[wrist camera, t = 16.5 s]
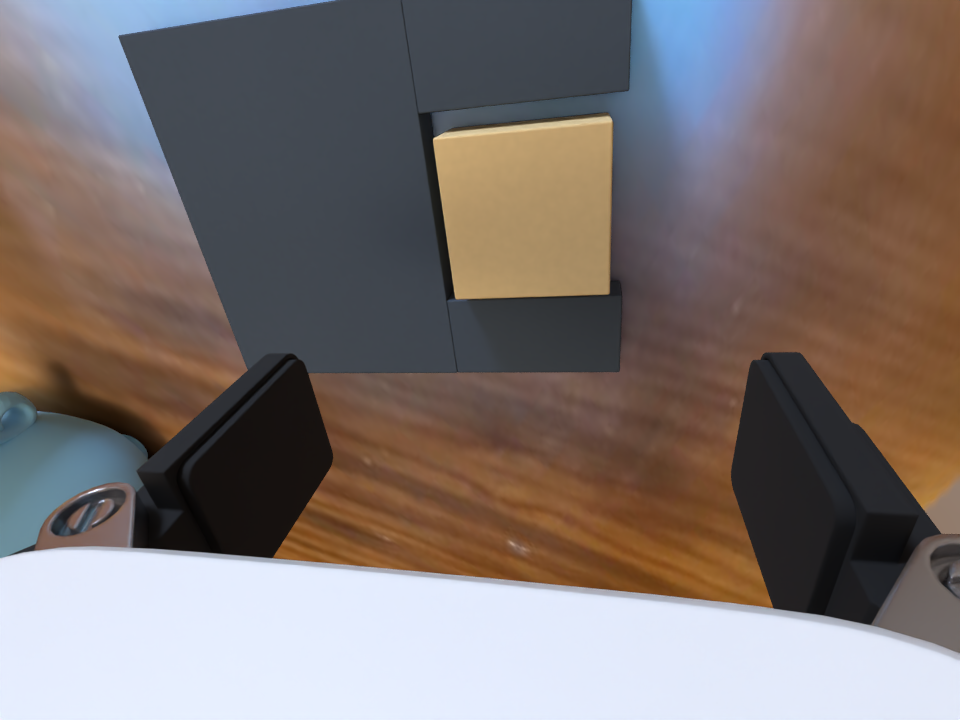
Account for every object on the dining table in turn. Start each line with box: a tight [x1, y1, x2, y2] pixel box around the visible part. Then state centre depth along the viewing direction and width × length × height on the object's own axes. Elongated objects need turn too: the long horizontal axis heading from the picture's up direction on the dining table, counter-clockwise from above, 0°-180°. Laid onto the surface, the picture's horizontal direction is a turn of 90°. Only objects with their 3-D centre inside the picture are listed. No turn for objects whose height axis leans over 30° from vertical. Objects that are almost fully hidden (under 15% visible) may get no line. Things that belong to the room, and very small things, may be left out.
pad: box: [433, 113, 613, 299], centre depth 21 cm, size 7×7×3 cm
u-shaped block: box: [119, 0, 632, 373], centre depth 23 cm, size 20×16×2 cm
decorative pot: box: [0, 392, 148, 558], centre depth 32 cm, size 16×16×14 cm
